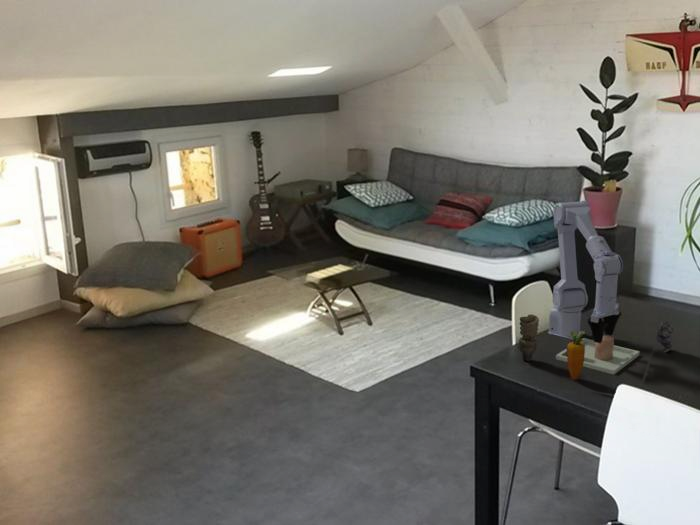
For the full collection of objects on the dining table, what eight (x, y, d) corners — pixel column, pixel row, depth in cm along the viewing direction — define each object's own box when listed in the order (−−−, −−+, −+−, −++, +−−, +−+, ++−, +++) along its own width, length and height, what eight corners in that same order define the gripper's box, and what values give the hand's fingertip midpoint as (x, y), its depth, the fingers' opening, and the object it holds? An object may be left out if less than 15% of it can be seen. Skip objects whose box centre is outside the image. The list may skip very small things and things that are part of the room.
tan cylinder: (591, 358, 218) (593, 339, 216) (597, 352, 222) (599, 334, 220) (609, 361, 215) (610, 343, 213) (615, 356, 219) (616, 337, 217)
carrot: (562, 377, 206) (565, 328, 202) (579, 376, 207) (582, 327, 203) (569, 385, 202) (571, 334, 198) (586, 384, 202) (589, 333, 198)
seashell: (675, 354, 219) (677, 323, 217) (656, 354, 220) (658, 323, 218) (671, 348, 224) (673, 317, 222) (652, 347, 225) (655, 317, 223)
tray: (555, 360, 218) (555, 355, 218) (582, 343, 231) (583, 337, 230) (613, 376, 206) (614, 370, 206) (639, 356, 219) (639, 351, 218)
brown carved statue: (538, 359, 219) (539, 312, 215) (536, 366, 214) (538, 319, 210) (519, 357, 221) (520, 311, 217) (517, 364, 216) (518, 317, 212)
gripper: (608, 304, 205) (605, 348, 209) (629, 291, 216) (626, 334, 219) (585, 299, 210) (582, 343, 214) (606, 287, 220) (603, 329, 224)
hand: (603, 338), depth 217 cm, fingers open, 7 cm apart
